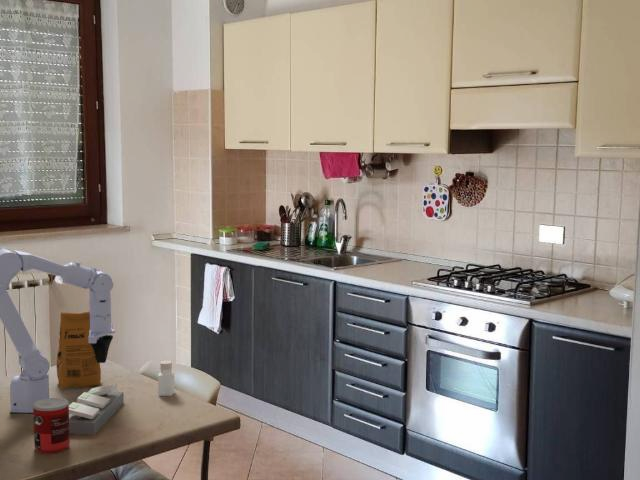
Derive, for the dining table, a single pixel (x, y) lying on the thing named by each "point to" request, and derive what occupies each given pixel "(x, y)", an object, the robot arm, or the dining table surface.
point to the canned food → (51, 425)
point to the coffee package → (76, 353)
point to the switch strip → (97, 422)
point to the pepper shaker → (166, 379)
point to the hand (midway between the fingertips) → (101, 362)
